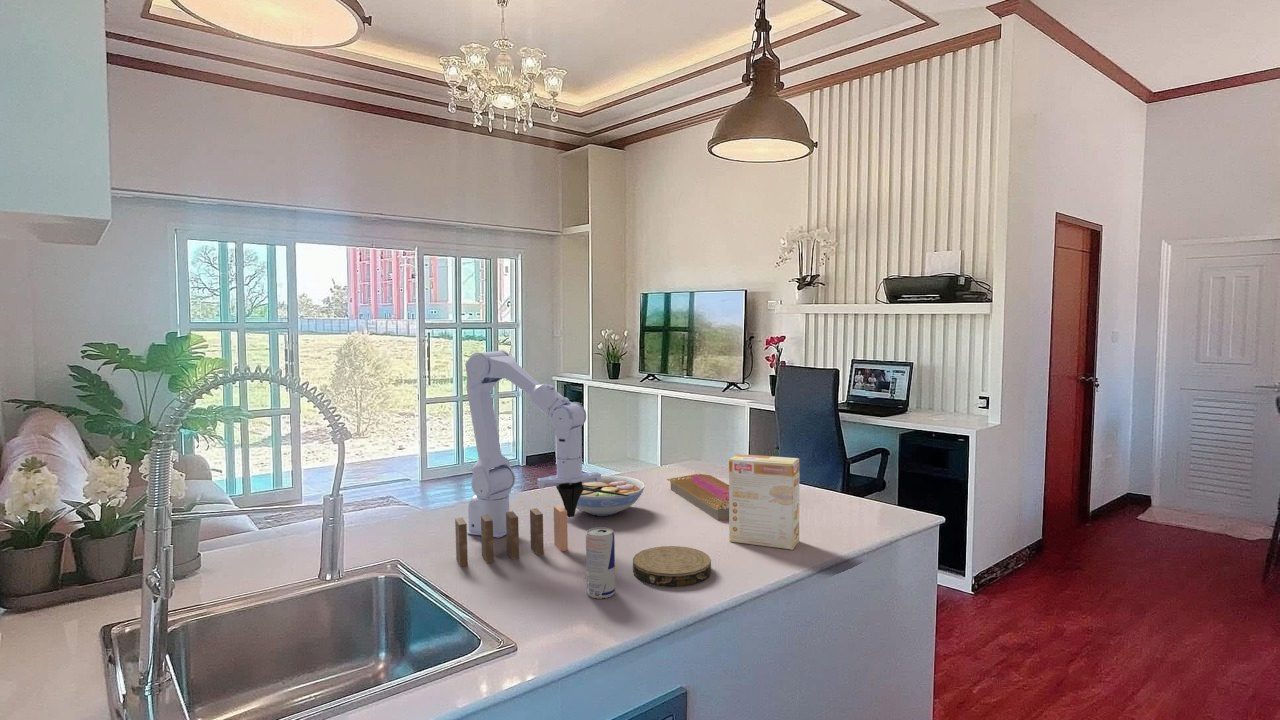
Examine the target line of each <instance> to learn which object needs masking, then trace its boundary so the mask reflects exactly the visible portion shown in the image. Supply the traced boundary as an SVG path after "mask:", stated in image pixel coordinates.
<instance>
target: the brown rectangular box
mask: <svg viewBox="0 0 1280 720" xmlns="http://www.w3.org/2000/svg"><path fill="white" fill-rule="evenodd" d="M666 480H667V481H669V482H670V491H672V492H673V493H675V494H676V495H678V496H679V497H680V498H682V499H684V500H686V501H687V502H688V503H690V504H691V505H693V506H695V507H696V508H698V509H699V510H700V511H702V512H704V513H705V514H707V515H709V517H711V518H713V519H715V520H716V521H726V520H728V521H729V483H728V484H727V483H726V482H724V481H722V480H720V479H718V478H716V477H715V476H713V475H710V474H703V473H695V474H689V475H683V476H677V477H671V478H667V479H666Z"/></svg>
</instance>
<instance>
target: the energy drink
mask: <svg viewBox="0 0 1280 720" xmlns="http://www.w3.org/2000/svg"><path fill="white" fill-rule="evenodd" d="M615 544H616V543H615V533H614V530H613V529H612V528H609V527H603V526H602V527H601V526H599V527H593V528H590V529H588V530H587V531H586V535H585V552H586V553H585V556H586V557H585V558H586V560H585V563H586V570H585V571H586V594H587V596H588V597H590V598H591V599H595V598H597V599H598V600H603V599H602V598H605V599H608V597H609V598H611V597H613V596H614V595H615V593H616V565H615V564H616V560H615V557H616V554H615V551H616V550H615V549H616V548H615V546H616V545H615ZM612 595H613V596H612Z"/></svg>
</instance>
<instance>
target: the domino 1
mask: <svg viewBox="0 0 1280 720" xmlns="http://www.w3.org/2000/svg"><path fill="white" fill-rule="evenodd" d="M454 523H455V525H454V526H455V529H454V530H455V552H456V553H455V556H456V562H457V563H458V565H459V567H467V566H468V565H469V563H468V562H469V561H468V534H467V531H468V529H467V528H468V527H467V526H468V523H467V522H466V520H465V519H464V517H457V518H456V517H455V519H454Z"/></svg>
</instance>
